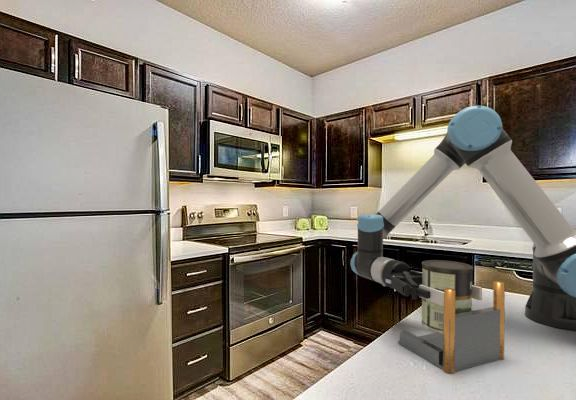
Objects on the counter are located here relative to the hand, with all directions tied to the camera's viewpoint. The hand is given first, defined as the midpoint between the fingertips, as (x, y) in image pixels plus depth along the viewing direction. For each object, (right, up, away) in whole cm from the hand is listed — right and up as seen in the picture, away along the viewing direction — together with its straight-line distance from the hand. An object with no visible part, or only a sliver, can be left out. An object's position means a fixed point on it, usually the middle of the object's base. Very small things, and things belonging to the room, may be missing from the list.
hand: (463, 296), depth 68 cm
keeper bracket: (-2, -13, +4) cm, 14 cm away
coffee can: (-2, -8, +4) cm, 9 cm away
